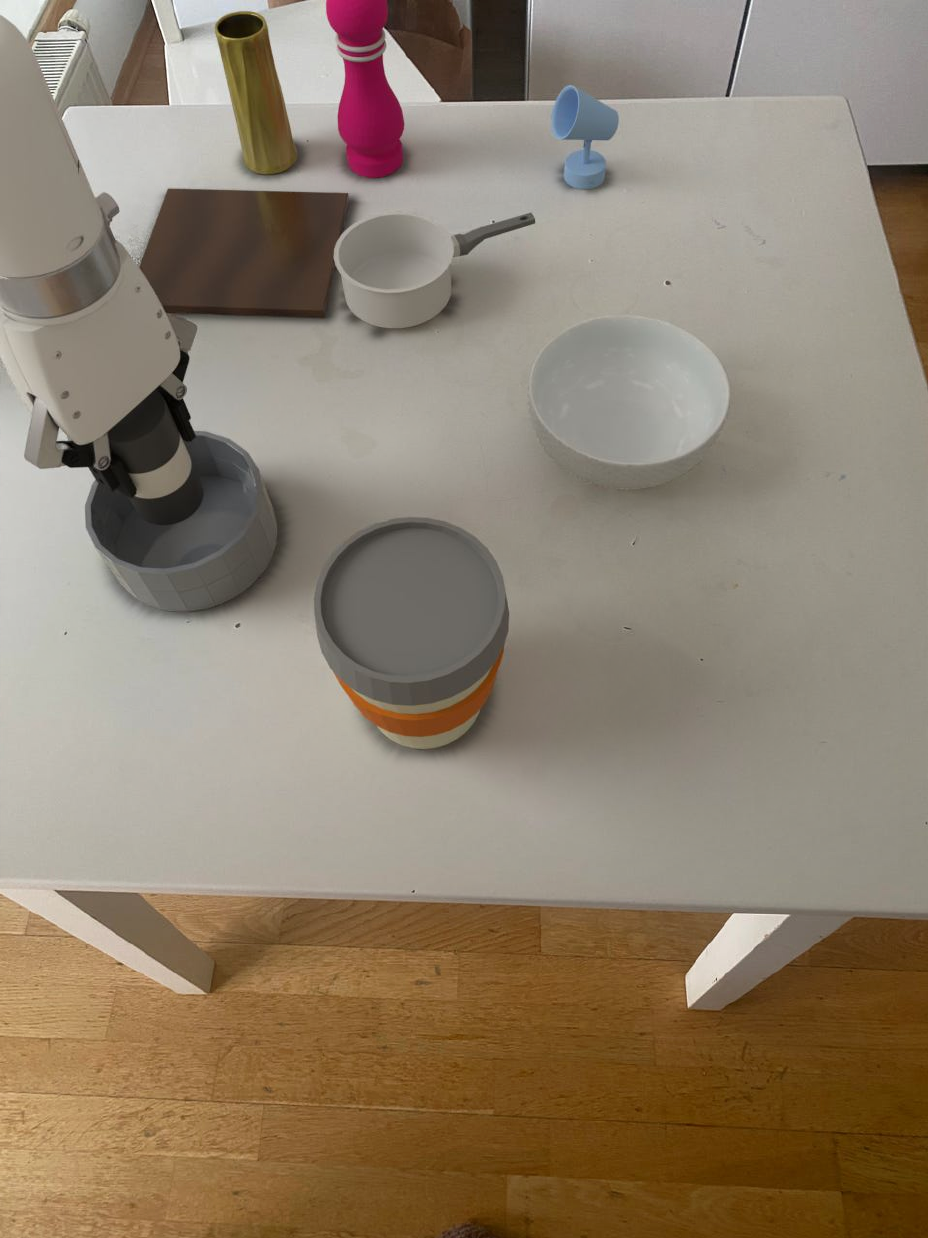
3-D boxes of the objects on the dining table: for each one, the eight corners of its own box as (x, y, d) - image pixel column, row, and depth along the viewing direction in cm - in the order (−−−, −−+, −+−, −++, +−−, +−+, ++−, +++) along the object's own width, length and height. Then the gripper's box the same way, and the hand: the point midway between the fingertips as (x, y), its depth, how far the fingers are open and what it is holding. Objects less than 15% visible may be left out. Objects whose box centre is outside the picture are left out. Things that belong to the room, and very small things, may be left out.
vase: (264, 182, 99) (232, 49, 87) (233, 157, 102) (197, 23, 89) (308, 158, 101) (282, 24, 89) (277, 134, 104) (248, 0, 91)
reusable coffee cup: (503, 620, 72) (505, 510, 59) (510, 769, 66) (515, 684, 53) (347, 625, 72) (315, 516, 59) (339, 775, 66) (302, 690, 53)
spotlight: (558, 197, 97) (618, 183, 98) (565, 106, 88) (630, 92, 89) (543, 170, 99) (601, 157, 100) (548, 78, 90) (611, 65, 91)
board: (128, 311, 90) (125, 303, 89) (170, 195, 99) (167, 187, 98) (324, 318, 89) (322, 310, 88) (349, 200, 98) (348, 192, 97)
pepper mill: (334, 151, 102) (302, -49, 84) (393, 134, 103) (373, -66, 86) (356, 188, 99) (327, -12, 81) (417, 170, 100) (401, -31, 82)
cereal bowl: (635, 550, 75) (648, 499, 69) (487, 447, 80) (486, 392, 74) (750, 432, 80) (772, 375, 74) (604, 344, 86) (613, 284, 80)
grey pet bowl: (93, 607, 73) (62, 568, 68) (136, 471, 80) (111, 426, 75) (260, 616, 73) (242, 577, 67) (290, 478, 79) (275, 433, 74)
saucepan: (551, 299, 89) (555, 252, 84) (359, 350, 87) (351, 305, 82) (511, 228, 95) (513, 180, 90) (329, 274, 92) (320, 227, 87)
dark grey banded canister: (126, 523, 70) (76, 440, 61) (144, 467, 73) (98, 380, 64) (195, 527, 70) (155, 444, 61) (210, 471, 73) (173, 384, 64)
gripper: (109, 157, 56) (191, 367, 72) (-116, 323, 49) (29, 514, 65) (199, 201, 54) (262, 407, 70) (-23, 380, 47) (103, 563, 63)
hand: (149, 457), depth 67 cm, fingers closed on dark grey banded canister, 5 cm apart
